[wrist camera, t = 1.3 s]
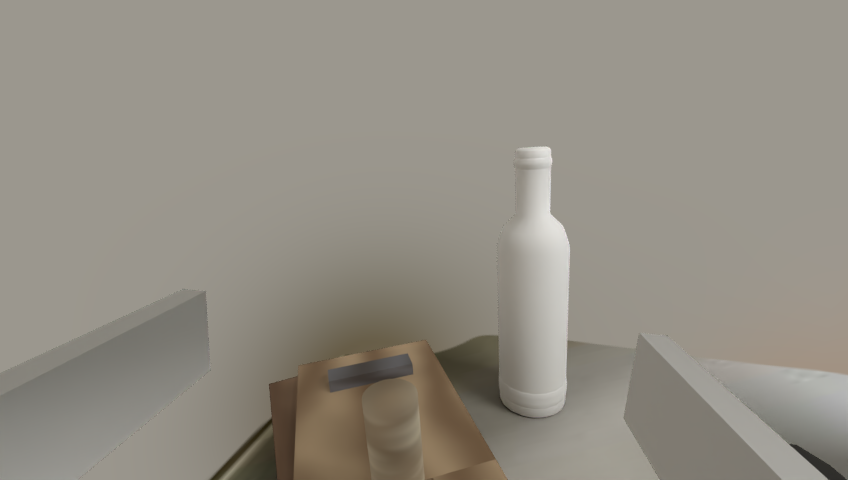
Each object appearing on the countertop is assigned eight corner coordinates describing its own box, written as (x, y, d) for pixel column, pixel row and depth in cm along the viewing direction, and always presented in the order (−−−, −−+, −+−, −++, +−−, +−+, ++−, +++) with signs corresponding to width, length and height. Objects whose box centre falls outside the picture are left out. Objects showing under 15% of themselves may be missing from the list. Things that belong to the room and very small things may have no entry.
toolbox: (400, 406, 49) (395, 348, 47) (519, 612, 28) (519, 522, 25) (281, 447, 44) (268, 384, 42) (313, 737, 22) (291, 638, 20)
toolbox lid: (426, 351, 46) (425, 330, 45) (539, 553, 23) (539, 518, 23) (300, 377, 42) (296, 355, 42) (291, 644, 20) (283, 605, 19)
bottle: (520, 427, 44) (519, 151, 36) (487, 387, 52) (480, 149, 44) (580, 408, 47) (591, 145, 39) (540, 372, 54) (543, 144, 46)
